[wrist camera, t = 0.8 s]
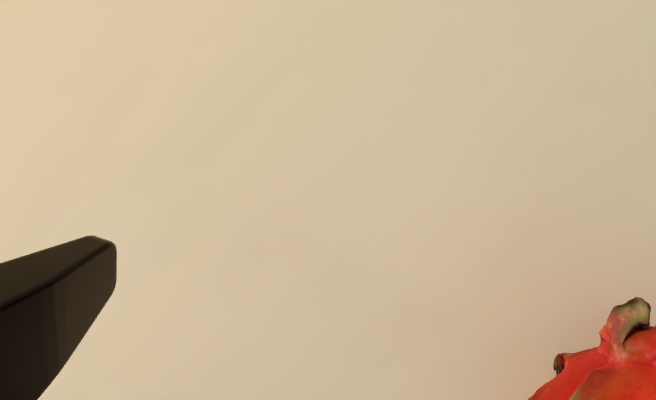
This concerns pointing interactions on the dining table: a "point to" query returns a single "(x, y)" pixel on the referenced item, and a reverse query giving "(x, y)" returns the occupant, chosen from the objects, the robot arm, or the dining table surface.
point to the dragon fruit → (610, 361)
